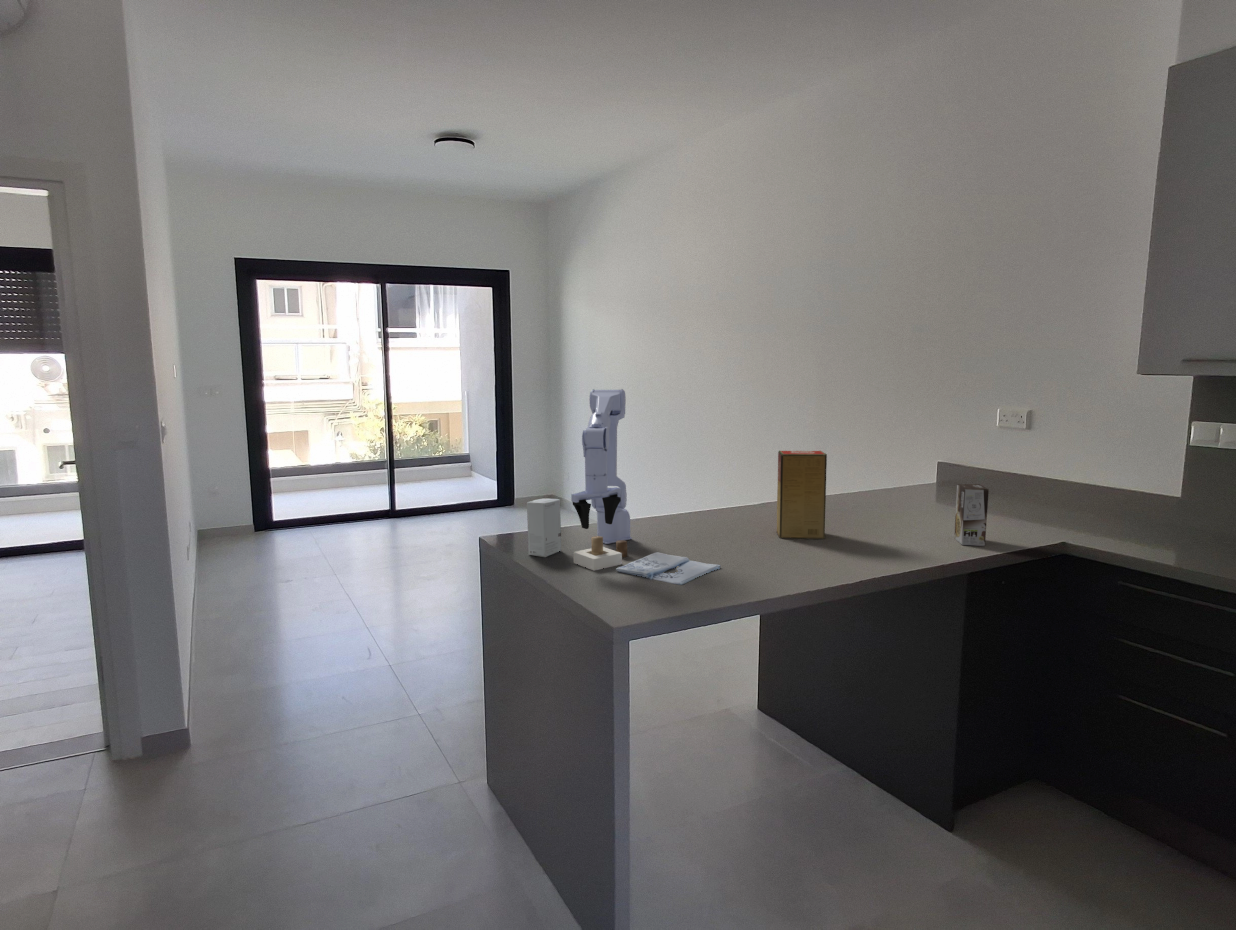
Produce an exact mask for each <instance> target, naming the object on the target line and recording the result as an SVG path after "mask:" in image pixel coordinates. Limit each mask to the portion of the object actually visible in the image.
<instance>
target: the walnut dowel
mask: <svg viewBox="0 0 1236 930" xmlns="http://www.w3.org/2000/svg"><path fill="white" fill-rule="evenodd" d="M615 551H617V552H620V553H622V558H627V557H628V540H618V541H616V542H615Z"/></svg>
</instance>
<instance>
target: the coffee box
mask: <svg viewBox="0 0 1236 930" xmlns="http://www.w3.org/2000/svg"><path fill="white" fill-rule="evenodd" d="M989 492H990V489H989V488H987V487H985V486H983V485H981V484H980V483H978V484H977V483H964V484H963V483H961V484H960V483H959V484H958V483H957V484H956V498H955V516H954V517H955V519H954V536H953V537H954V539H955V540H956V541H957V542H958V543H959V544H960V545H961V546H978V547H979V546H980V547H985V545H986V534H987V521H988V518H987V517H988V508H989V506H988V505H989Z"/></svg>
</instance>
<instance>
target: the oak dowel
mask: <svg viewBox="0 0 1236 930" xmlns="http://www.w3.org/2000/svg"><path fill="white" fill-rule="evenodd" d="M590 539H591V548H592V555H595V556H597V555H602V554H603V547H604V543H603V537H601V536H597V535H596V536H595V535H594V536H591V537H590Z"/></svg>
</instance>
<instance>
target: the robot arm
mask: <svg viewBox="0 0 1236 930" xmlns="http://www.w3.org/2000/svg"><path fill="white" fill-rule="evenodd" d="M626 399H627V398H626V391H625V389H623V388H620V389H595V388H593V389H591V390H590V392H589V409H590V410H591V416H590V417H589V421H588V424H587V427H586V428H585V429H584V430H582V433H581V445H582V449H583V458H584V474H585V475H584V477H585V479H584V480H585V482H584V483H585V487H584V488H585V490H583V491H579V492H576V493H571V497H570V498H571V499H570V500H571V502H572V505H573V507H574V508H575V509H574V510H575V511H576V513H577V516H578V519H579V521H580V526H581V528H582V529H584V530H588V529H590V528H589V527H590V512H591V511H590V510H591V507H592V509H595V512H596V526H597V527H596V530H597V531H596V533H597V535H596V536H601V537H603V544H606V545H608V544H614V543H616V541H618V540H625V541H628V540H632V539H633V537H632V536H631V516H630V513H629V511H628V509H626V507H627V498H628V497H627V485H626V482H625V481H623V479H621V478H620V477H619V476H618V475H617V474H618V466H617V462H618V426H619V421H621V420H622V419H624V418H625V416H626ZM589 500H591V501H590V502H591V503H590V502H588V501H589Z"/></svg>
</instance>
